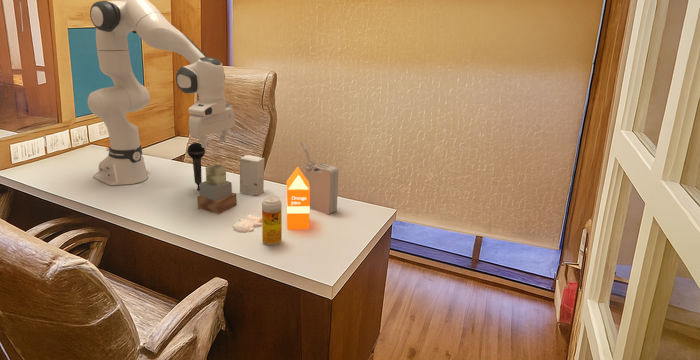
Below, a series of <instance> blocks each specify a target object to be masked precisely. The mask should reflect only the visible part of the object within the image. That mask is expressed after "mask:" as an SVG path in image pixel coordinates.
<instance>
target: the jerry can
mask: <svg viewBox="0 0 700 360" xmlns="http://www.w3.org/2000/svg"><path fill="white" fill-rule="evenodd" d="M300 144H301V147H302V148H303V151H304V152H305V155H306V160H307V162H306V163H307V165H303V169H304V170H305V172H304V173H303V175H304V176H305V177H306V179H307V180H308V182H309V187H310V209H312V210H315V211H316V212H319V213H322V214H325V215H330V214H332V213H335V212H337V210H338V192H339V191H338V187H339V169H338V167H337V166H333V165H328V164H326V163H325V164H324V163H320V164H318V163H315V162H314V161H313V160H311V157H310V153H309V150H308V148H307V146H306V144H305V142H304V141H301V142H300Z"/></svg>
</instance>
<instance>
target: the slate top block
mask: <svg viewBox="0 0 700 360" xmlns="http://www.w3.org/2000/svg"><path fill="white" fill-rule="evenodd" d="M199 187H200V191H199V196H201V197H204V198H207V199H210V200H213V201H218V200H220V199H223V198H225V197H228V196H230V195H232V193H233V191H232V190H233V188H232V181H229V180H226V182H224V183H222V184H220V185H218V186H217V185H212V184H208V183H206V180H205V181H203V182H202V183H200V185H199Z"/></svg>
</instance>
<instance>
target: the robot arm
mask: <svg viewBox="0 0 700 360" xmlns="http://www.w3.org/2000/svg"><path fill="white" fill-rule="evenodd" d="M89 16H90V17H89V18H90V20H91V23H92V24H93V26H94V27H95V42H96V44H95V46H96V52H97V58H98V64H99V70H100V71H101V72H102V74H103V75H105V76H108V77H109V78H110V79H111V80H112V83H113V86H109V87H108V86H107V87H102V88H99V89H97V90H94V91H92V92H90V93H89V95H88V97H87V107H88V109H89V110H90V111H91V113H92V114H93V115H94V116H96V117H98V118H99V119H101V120H102V122H103V123H104V125H105V127H106V129H107V132H108V133H107V134H108V137H109V138H108V139H109V144H110V147H107V148H106V151H107V152H108V155H107V156H106V157H105V158H104V159H102V160H101V161H100V162H99V163H98V172H95V173H94V174H93V175H92V178H93V179H95V180H98V181H100V182H102V183H104V184H106V185H109V186H119V185H123V186H124V185H133V184H138V183H142V182H144V181H146V180H148V178H149V176H148V174H149V171H148V170H147V168H146V164H145V159H144V156H143V147H142V145H141V142H140V141H141V139H140V131H139V128H138V127H137V125H136V124H134V123H132V122H131V121H130V122H129V120H128V117H127V114H129V113H132V112H137V111H138V112H139V111H140V110H143V109H144V108H146V107H148V106H149V105H150V103H151V102H150V101H151V95H150V92H149V90H148V89H147V88H146V86H144V85H143V84H141V83H140V82H139V80H138V79H137V78H136V76H135V73H134V71H133V68H132V62H131V57H130V56H131V55H130V49H129V43H128V35H129V33H133V34H137V35H138V37H139V38H140V39H141V40H142V41H143V42H144V43H145V44H147V45H148V46H149V47H151V48H153V49H157V50H164V51H168V52H173V53H176V54H179V55H180V56H182V57H184V58H185V59H186V60H187V62H189V63H190V64H188V65H184V66H181V67H178V69H177V72H176V73H175V82H176V86H177V87H178V89H179V90H180V91H181V92H182V93H184V94H190V95H191V94H192V95H193V94H197V95H198V100H197V101H196V102H195V103H194V104H192V105H191V106H189V108H188V113H189V114H190V115H189V118H188V131H189V136H191V137H193V138H197V139H198V140H199V141H200V144H201V145H202V148H204V149H207V148H209V142H207V141H206V139H207V136H209V135H210V136H211V135H214V134H216V133H220V132H221V135H220V136H219V142H220V143H221V142H222V143H224V142H226V141H227V135H228V132H229V129H231V128H234V127H235V125H236V118H235V112H234V109H233V105H232V104H231V103H230V102H226V94H225V86H226V75H225V70H224V66H223V63H222V62H221V61H220V59H218V58H215V57H210V56H207V55H206V54H205V52H204V51H203V50H202V49H200V48H199V46H198V45H196V44H195V43H194V41H192V39H190V38H189V37H188V36H187V35H186V34H184V33H183V32H181V31H180V30H179V29H177V28H176V27H175V26H174V25H173V24H172V23H170V21H168V20H167V19H166V18H165V16H164V15H163V14H162V12H161V11H160V10H159V9H158V8H157V7H156V6H155V5H154V4H153V3H152V2H150V0H99V1H95V2H94V3H93V4H92V5H91V7H90V10H89Z"/></svg>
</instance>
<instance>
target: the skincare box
mask: <svg viewBox="0 0 700 360" xmlns="http://www.w3.org/2000/svg"><path fill="white" fill-rule="evenodd" d="M264 182H265V157H261V156H256V155H250V154H246V155H244V156H241V157H240V158H239V193H240V194H246V195H252V196H255V197H258V196H259V195H260V194H262V193H264V186H265V184H264Z"/></svg>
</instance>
